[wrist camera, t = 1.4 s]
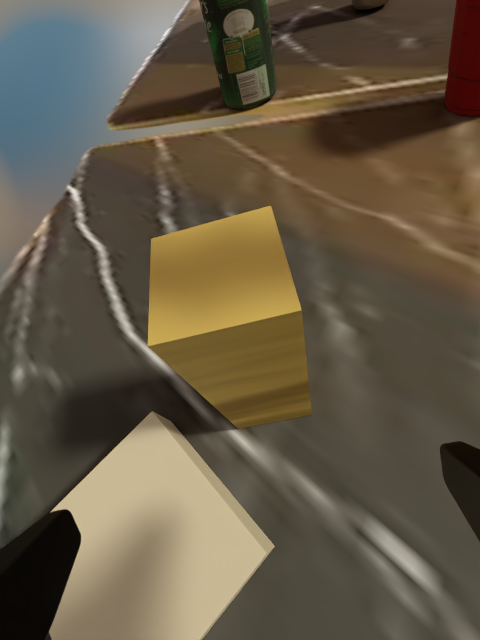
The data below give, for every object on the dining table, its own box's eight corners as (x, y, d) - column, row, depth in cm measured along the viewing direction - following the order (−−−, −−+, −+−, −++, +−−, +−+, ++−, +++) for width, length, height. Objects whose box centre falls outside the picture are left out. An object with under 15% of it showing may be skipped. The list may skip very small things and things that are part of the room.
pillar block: (311, 414, 20) (301, 310, 9) (238, 428, 21) (147, 346, 10) (294, 347, 23) (270, 205, 12) (229, 361, 23) (151, 238, 13)
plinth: (136, 723, 15) (98, 769, 12) (55, 539, 20) (17, 544, 17) (274, 546, 17) (266, 553, 15) (171, 421, 22) (152, 411, 19)
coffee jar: (223, 86, 48) (176, -116, 32) (274, 72, 46) (250, -147, 31) (223, 118, 43) (167, -104, 27) (279, 103, 41) (255, -139, 26)
